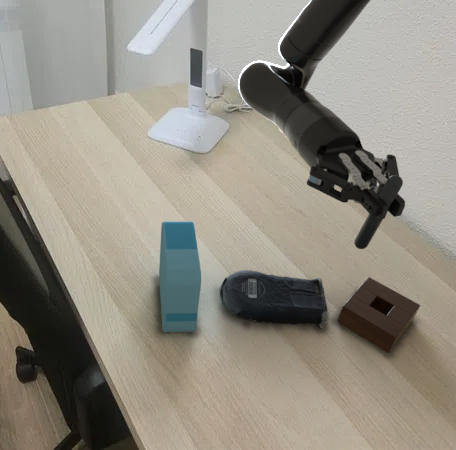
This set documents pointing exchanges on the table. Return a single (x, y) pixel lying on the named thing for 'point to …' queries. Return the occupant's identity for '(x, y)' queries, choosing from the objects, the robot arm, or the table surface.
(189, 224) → the data package
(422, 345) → the table surface
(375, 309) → the pen stand
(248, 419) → the table surface
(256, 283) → the electronic device
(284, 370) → the table surface
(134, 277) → the table surface
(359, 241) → the dark grey peg
